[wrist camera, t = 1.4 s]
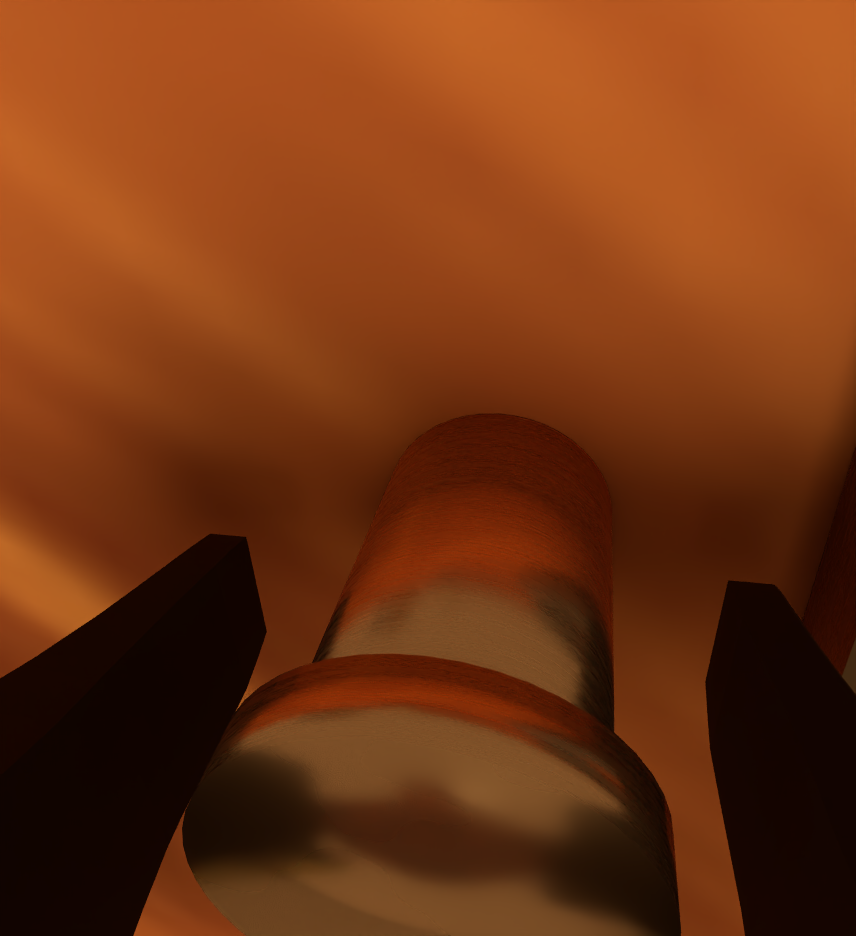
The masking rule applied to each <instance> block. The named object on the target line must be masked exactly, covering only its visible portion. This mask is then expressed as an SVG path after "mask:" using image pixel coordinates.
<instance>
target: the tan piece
mask: <svg viewBox="0 0 856 936" xmlns="http://www.w3.org/2000/svg"><path fill="white" fill-rule="evenodd" d="M802 623H803V624H804V626H805V627H806V628H807V630H808V631H809V633H810V634H811V635H812V637H813V638H814V640H815V641H816V642H817V644H818V645H819V646H820V648H821V649H822V650H823V652H824V653H825V655H826V656H827V657H828V659H829V660H830V661H831V663H832V664H833V665H834V667H835V668H836V669H837V671H838V672H839V673H840V675H841V676H842V677H843V679H844V680H845V681H846V682H847V684H848V685H849V686H850V687H851V689H852V690H853V691H854V693H855V694H856V449H855V452H854V455H853V458H852V462H851V465H850V468H849V471H848V475H847V478H846V481H845V485H844V488H843V491H842V494H841V498H840V501H839V504H838V507H837V511H836V514H835V517H834V521H833V524H832V527H831V530H830V534H829V537H828V540H827V543H826V547H825V550H824V553H823V557H822V560H821V563H820V566H819V570H818V573H817V576H816V579H815V583H814V586H813V589H812V593H811V596H810V599H809V602H808V606H807V609H806V612H805V615H804V619H803V622H802Z"/></svg>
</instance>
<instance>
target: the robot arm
mask: <svg viewBox="0 0 856 936" xmlns="http://www.w3.org/2000/svg"><path fill="white" fill-rule="evenodd" d="M266 632H267V631H266V626H265V622H264V617H263V612H262V608H261V603H260V599H259V594H258V589H257V585H256V580H255V576H254V571H253V566H252V562H251V557H250V552H249V548H248V543H247V539H246V537H240V536H229V535H218V534H209V535H208V536H206V537H205V538H203V539H202V540H200V541H199V542H198V543H196V544H195V545H193V546H192V547H190V548H189V549H188V550H186V551H185V552H184V553H182V554H181V555H179V556H178V557H177V558H175V559H174V560H173V561H171V562H170V563H169V564H167V565H166V566H165V567H163V568H162V569H161V570H159V571H158V572H157V573H155V574H154V575H153V576H151V577H150V578H148V579H147V580H146V581H144V582H143V583H142V584H140V585H139V586H138V587H136V588H135V589H133V590H132V591H131V592H129V593H128V594H127V595H125V596H124V597H122V598H121V599H120V600H118V601H117V602H116V603H114V604H113V605H111V606H110V607H109V608H107V609H106V610H105V611H103V612H102V613H100V614H99V615H97V616H96V617H95V618H93V619H92V620H90V621H89V622H87V623H86V624H84V625H83V626H81V627H80V628H78V629H77V630H75V631H74V632H72V633H71V634H69V635H68V636H66V637H65V638H63V639H62V640H60V641H59V642H57V643H56V644H54V645H53V646H51V647H50V648H48V649H47V650H45V651H44V652H42V653H41V654H39V655H38V656H36V657H35V658H33V659H31V660H30V661H28V662H27V663H25V664H23V665H22V666H20V667H18V668H17V669H15V670H13V671H12V672H10V673H8V674H7V675H5V676H3V677H2V678H0V936H133V935H134V932H135V930H136V927H137V924H138V921H139V919H140V916H141V913H142V911H143V908H144V905H145V903H146V900H147V898H148V895H149V893H150V890H151V888H152V885H153V883H154V880H155V878H156V875H157V873H158V870H159V868H160V865H161V862H162V860H163V857H164V855H165V852H166V850H167V847H168V845H169V843H170V841H171V839H172V836H173V834H174V832H175V830H176V828H177V826H178V823H179V821H180V819H181V817H182V815H183V813H184V811H185V809H186V807H187V805H188V803H189V801H190V799H191V797H192V796H193V794H194V792H195V790H196V788H197V786H198V784H199V782H200V780H201V778H202V776H203V774H204V772H205V770H206V768H207V766H208V764H209V762H210V760H211V758H212V756H213V754H214V752H215V750H216V748H217V746H218V744H219V742H220V740H221V738H222V736H223V734H224V732H225V730H226V728H227V726H228V724H229V722H230V720H231V718H232V716H233V715H234V713H235V711H236V709H237V707H238V705H239V703H240V701H241V699H242V697H243V695H244V693H245V691H246V689H247V686H248V684H249V681H250V678H251V676H252V673H253V670H254V667H255V665H256V662H257V659H258V656H259V653H260V650H261V647H262V644H263V641H264V638H265V635H266ZM705 683H706V698H707V714H708V728H709V740H710V751H711V756H712V762H713V767H714V772H715V778H716V783H717V788H718V793H719V799H720V804H721V809H722V814H723V819H724V824H725V829H726V834H727V840H728V845H729V850H730V855H731V860H732V865H733V870H734V875H735V880H736V886H737V891H738V896H739V901H740V906H741V912H742V918H743V925H744V931H745V936H856V694H855V693H854V691H853V690H852V689H851V687H850V686H849V685H848V684H847V682H846V681H845V680H844V679H843V677H842V676H841V675H840V673H839V672H838V671H837V669H836V668H835V667H834V665H833V664H832V663H831V661H830V660H829V659H828V657H827V656H826V655H825V653H824V652H823V650H822V649H821V648H820V646H819V645H818V644H817V642H816V641H815V640H814V638H813V637H812V635H811V634H810V633H809V631H808V630H807V628H806V627H805V626H804V624H803V623H802V621H801V620H800V618H799V617H798V616H797V614H796V613H795V611H794V610H793V608H792V607H791V605H790V604H789V603H788V601H787V600H786V598H785V597H784V595H783V594H782V593H781V591H780V590H779V589H778V588H777V587H776V586H775V585H772V584H761V583H750V582H739V581H728V584H727V588H726V593H725V597H724V602H723V606H722V610H721V615H720V619H719V624H718V628H717V633H716V637H715V641H714V646H713V650H712V655H711V659H710V664H709V668H708V672H707V677H706V681H705Z"/></svg>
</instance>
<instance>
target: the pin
mask: <svg viewBox="0 0 856 936" xmlns="http://www.w3.org/2000/svg"><path fill="white" fill-rule="evenodd" d="M182 833H183V847H184V850H185V854H186V857H187V861H188V864H189V866H190V868H191V870H192V872H193V874H194V877H195V879H196V881H197V882H198V884H199V885H200V887H201V888H202V890H203V891H204V893H205V894H206V896H207V897H208V898H209V899H210V901H211V902H212V903H213V904H214V905H215V906H216V908H217V909H218V910H219V911H220V912H221V913H222V914H223V915H224V916H225V917H226V918H227V919H228V920H229V921H230V922H231V923H232V924H233V925H234V926H235V927H236V928H237V929H239V930H240V931H241V932H242V933H244V934H245V935H246V936H681V925H680V912H679V900H678V887H677V874H676V861H675V848H674V835H673V827H672V819H671V813H670V811H669V808H668V805H667V802H666V799H665V796H664V794H663V792H662V790H661V788H660V787H659V785H658V783H657V781H656V780H655V778H654V776H653V774H652V773H651V772H650V770H649V769H648V768H647V767H646V765H645V764H644V763H643V762H642V760H641V759H640V758H639V757H638V755H637V754H636V753H635V752H634V751H633V750H632V749H631V748H630V747H629V746H628V745H627V744H626V743H625V742H624V741H623V740H622V739H620V738H619V737H618V736H617V735H616V734H615V733H614V659H613V564H612V506H611V499H610V494H609V491H608V488H607V484H606V482H605V480H604V478H603V476H602V474H601V472H600V470H599V469H598V468H597V466H596V465H595V463H594V462H593V460H592V459H591V458H590V457H589V456H588V455H587V454H586V452H585V451H584V450H583V449H582V448H580V447H579V446H578V445H577V444H576V443H575V442H573V441H572V440H571V439H569V438H568V437H566V436H565V435H563V434H562V433H560V432H559V431H556V430H554V429H552V428H550V427H548V426H546V425H544V424H541V423H539V422H536V421H533V420H530V419H526V418H522V417H518V416H512V415H504V414H478V415H470V416H465V417H460V418H456V419H453V420H450V421H447V422H445V423H442V424H440V425H438V426H436V427H434V428H432V429H430V430H429V431H427V432H426V433H424V434H423V435H422V436H420V437H419V438H417V439H416V440H415V441H414V442H413V443H412V444H411V445H410V446H409V447H408V448H407V450H406V451H405V452H404V454H403V455H402V456H401V458H400V460H399V462H398V464H397V466H396V467H395V470H394V472H393V474H392V477H391V479H390V481H389V484H388V486H387V488H386V491H385V493H384V495H383V498H382V500H381V502H380V505H379V507H378V509H377V512H376V514H375V516H374V519H373V521H372V523H371V526H370V528H369V531H368V533H367V535H366V538H365V540H364V542H363V545H362V547H361V549H360V552H359V554H358V556H357V559H356V561H355V563H354V566H353V568H352V570H351V573H350V575H349V577H348V580H347V582H346V584H345V587H344V589H343V592H342V594H341V596H340V599H339V601H338V603H337V606H336V608H335V610H334V613H333V615H332V617H331V620H330V622H329V624H328V627H327V629H326V631H325V634H324V636H323V638H322V641H321V643H320V645H319V648H318V650H317V653H316V655H315V657H314V660H313V662H312V663H311V664H307V665H303V666H301V667H298V668H296V669H293V670H291V671H288V672H286V673H283V674H281V675H279V676H277V677H276V678H274V679H272V680H271V681H269V682H267V683H266V684H264V685H262V686H261V687H259V688H258V689H257V690H256V691H255V692H253V693H252V694H251V695H250V696H249V697H248V698H247V699H245V700H244V702H243V703H242V704H241V706H240V707H239V708H238V709H237V711H236V712H235V713H234V715H233V716H232V718H231V720H230V722H229V724H228V726H227V728H226V730H225V732H224V734H223V736H222V738H221V740H220V742H219V744H218V746H217V748H216V750H215V752H214V754H213V756H212V758H211V760H210V762H209V764H208V766H207V768H206V770H205V772H204V774H203V776H202V778H201V780H200V782H199V784H198V786H197V788H196V790H195V792H194V794H193V796H192V798H191V800H190V802H189V804H188V807H187V809H186V811H185V816H184V821H183V827H182Z"/></svg>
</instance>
